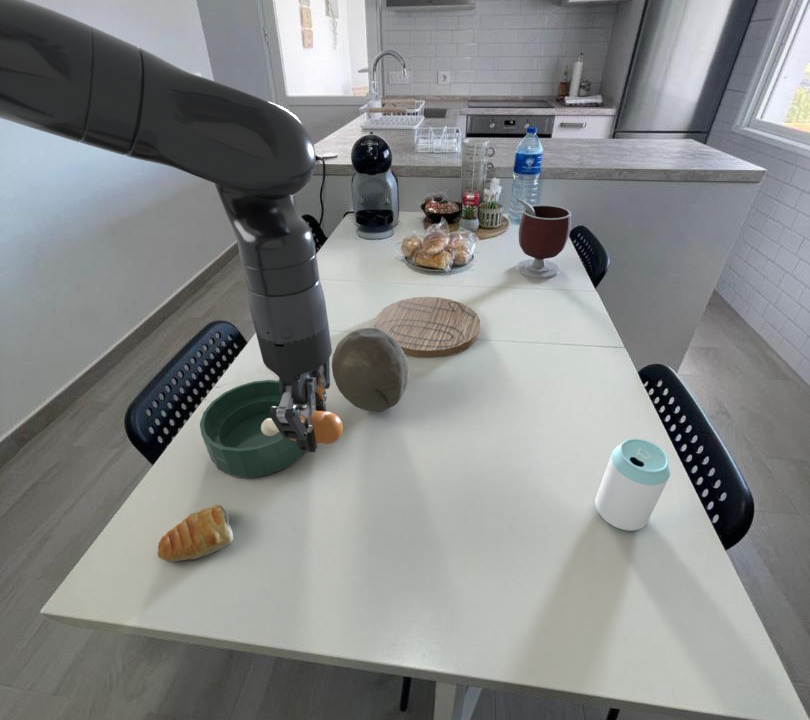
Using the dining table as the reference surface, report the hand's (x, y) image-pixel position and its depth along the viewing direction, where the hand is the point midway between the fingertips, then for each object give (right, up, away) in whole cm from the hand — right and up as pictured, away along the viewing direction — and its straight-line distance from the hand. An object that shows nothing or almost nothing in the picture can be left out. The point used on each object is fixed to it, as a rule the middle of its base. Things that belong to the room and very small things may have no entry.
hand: (313, 436), depth 57 cm
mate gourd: (+50, +37, +77) cm, 99 cm away
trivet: (+17, +17, +50) cm, 56 cm away
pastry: (-16, -16, +5) cm, 23 cm away
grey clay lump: (+5, +2, +29) cm, 29 cm away
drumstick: (-1, 0, 0) cm, 1 cm away
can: (+43, -12, +8) cm, 45 cm away
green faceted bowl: (-13, -4, +21) cm, 25 cm away
